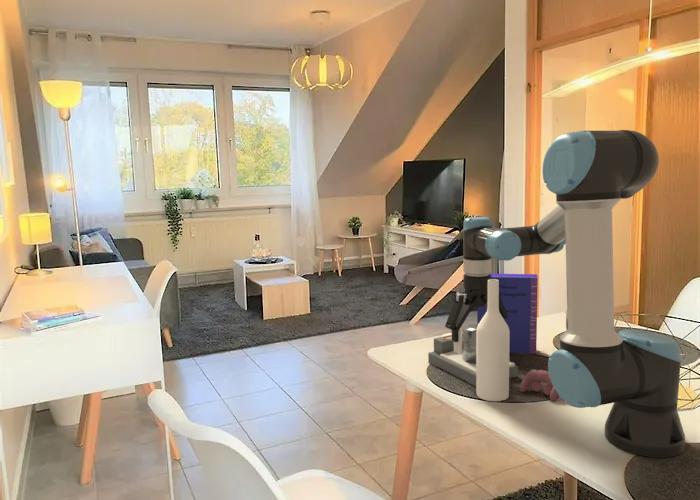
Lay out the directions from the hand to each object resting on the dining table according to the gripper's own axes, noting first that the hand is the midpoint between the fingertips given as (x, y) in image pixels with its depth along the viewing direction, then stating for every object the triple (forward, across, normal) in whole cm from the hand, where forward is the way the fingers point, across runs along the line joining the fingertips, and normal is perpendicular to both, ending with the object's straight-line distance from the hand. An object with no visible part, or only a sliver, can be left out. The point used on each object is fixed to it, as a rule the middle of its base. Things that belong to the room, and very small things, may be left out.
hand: (477, 348), depth 161 cm
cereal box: (+7, -19, -9) cm, 22 cm away
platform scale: (+7, 0, -3) cm, 7 cm away
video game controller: (+7, -4, +20) cm, 22 cm away
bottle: (+7, +7, +14) cm, 17 cm away
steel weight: (+3, 0, 0) cm, 3 cm away
